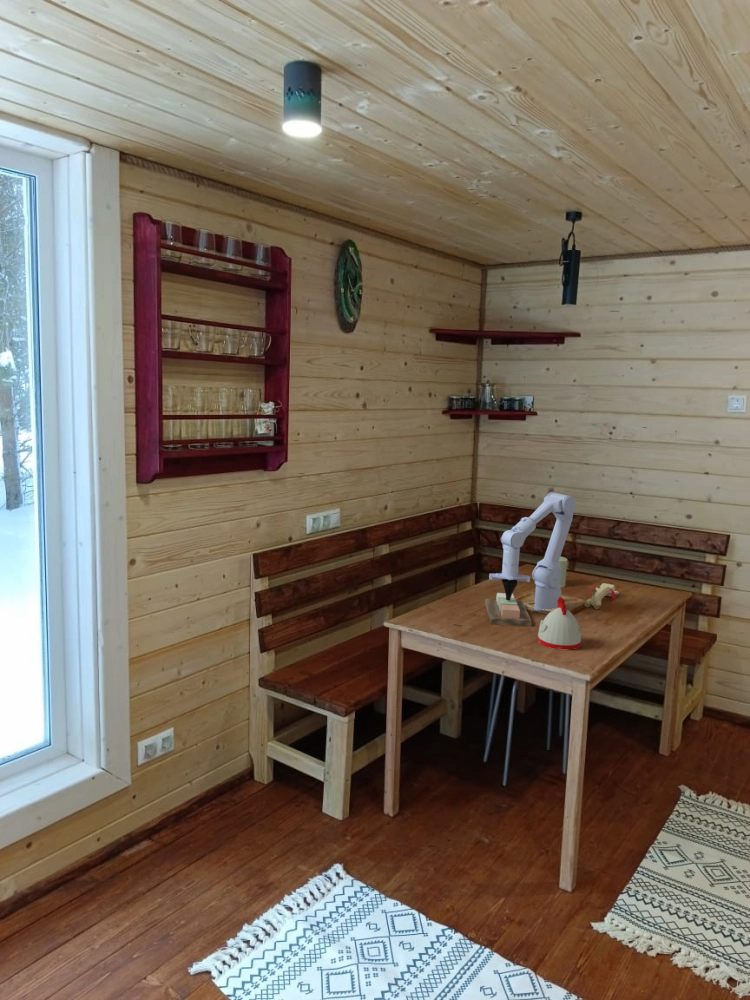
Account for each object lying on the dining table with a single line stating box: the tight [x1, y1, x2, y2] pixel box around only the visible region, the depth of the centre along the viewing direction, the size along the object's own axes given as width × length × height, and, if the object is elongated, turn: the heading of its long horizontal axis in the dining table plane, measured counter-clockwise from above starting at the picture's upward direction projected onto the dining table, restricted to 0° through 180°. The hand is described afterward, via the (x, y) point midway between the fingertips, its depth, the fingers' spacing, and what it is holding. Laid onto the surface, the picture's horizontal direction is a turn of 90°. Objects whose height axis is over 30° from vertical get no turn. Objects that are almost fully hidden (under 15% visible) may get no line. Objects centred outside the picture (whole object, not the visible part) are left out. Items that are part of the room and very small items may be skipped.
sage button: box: [498, 599, 517, 612], centre depth 276 cm, size 6×6×4 cm
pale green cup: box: [547, 556, 568, 589], centre depth 318 cm, size 9×9×12 cm
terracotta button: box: [500, 605, 520, 619], centre depth 268 cm, size 6×6×4 cm
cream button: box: [495, 592, 516, 605], centre depth 283 cm, size 6×6×4 cm
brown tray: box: [484, 598, 532, 627], centre depth 276 cm, size 14×24×2 cm, turn 177°
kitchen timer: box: [537, 596, 582, 650], centre depth 248 cm, size 14×14×15 cm
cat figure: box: [584, 582, 620, 610], centre depth 298 cm, size 10×9×25 cm
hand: (508, 599), depth 275 cm, fingers closed
